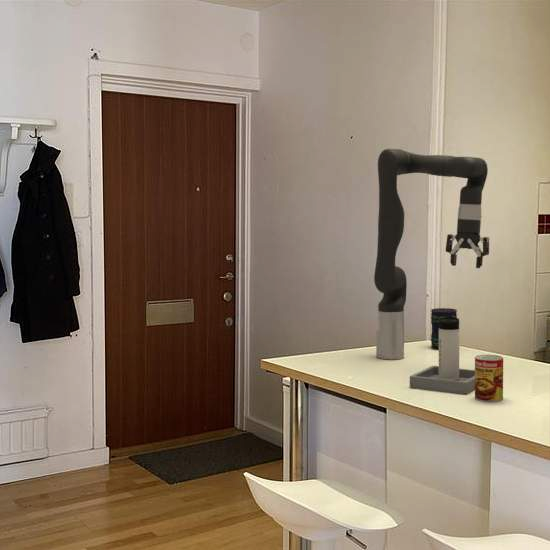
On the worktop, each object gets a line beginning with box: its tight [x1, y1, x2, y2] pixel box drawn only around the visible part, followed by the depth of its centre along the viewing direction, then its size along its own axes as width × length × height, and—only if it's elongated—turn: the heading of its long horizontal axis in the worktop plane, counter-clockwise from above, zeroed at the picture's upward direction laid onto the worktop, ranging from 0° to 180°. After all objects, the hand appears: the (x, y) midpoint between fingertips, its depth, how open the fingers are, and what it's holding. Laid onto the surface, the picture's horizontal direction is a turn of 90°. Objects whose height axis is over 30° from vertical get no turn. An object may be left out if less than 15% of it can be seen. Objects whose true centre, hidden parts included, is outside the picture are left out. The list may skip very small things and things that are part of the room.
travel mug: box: [438, 316, 460, 381], centre depth 245 cm, size 6×7×20 cm
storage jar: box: [430, 307, 458, 351], centre depth 305 cm, size 10×10×15 cm
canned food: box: [474, 354, 504, 403], centre depth 228 cm, size 8×8×12 cm
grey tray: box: [409, 365, 475, 395], centre depth 245 cm, size 18×18×4 cm
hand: (465, 266), depth 264 cm, fingers open, 8 cm apart
